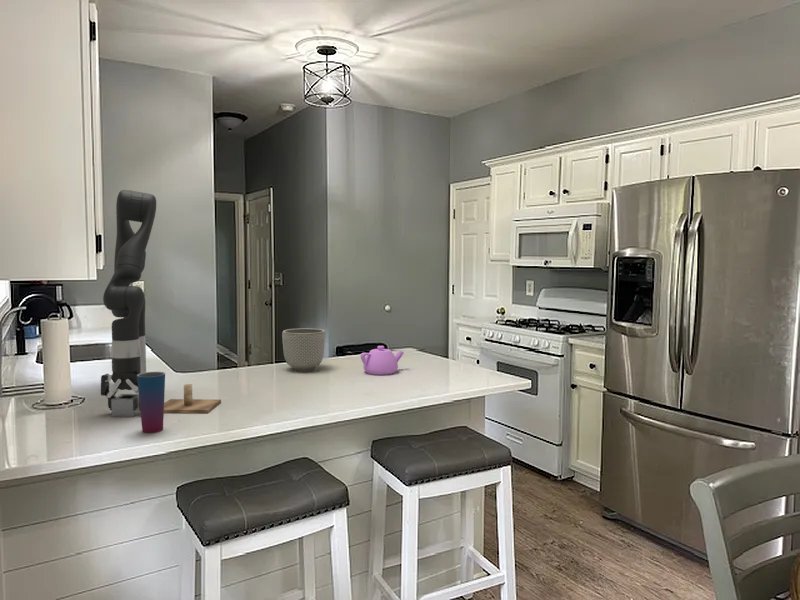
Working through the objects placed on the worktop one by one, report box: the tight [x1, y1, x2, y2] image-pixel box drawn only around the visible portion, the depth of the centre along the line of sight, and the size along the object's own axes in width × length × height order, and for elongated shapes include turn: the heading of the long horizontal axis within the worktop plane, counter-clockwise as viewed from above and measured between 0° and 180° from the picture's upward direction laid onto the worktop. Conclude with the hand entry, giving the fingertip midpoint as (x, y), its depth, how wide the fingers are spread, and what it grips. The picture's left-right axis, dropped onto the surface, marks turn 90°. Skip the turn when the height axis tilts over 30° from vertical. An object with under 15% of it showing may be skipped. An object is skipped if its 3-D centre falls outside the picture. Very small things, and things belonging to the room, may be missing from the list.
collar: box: [111, 393, 141, 418], centre depth 163 cm, size 6×6×5 cm
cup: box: [137, 371, 166, 434], centre depth 147 cm, size 7×7×15 cm
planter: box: [281, 327, 326, 373], centre depth 227 cm, size 17×17×16 cm
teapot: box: [360, 345, 404, 376], centre depth 224 cm, size 14×20×11 cm
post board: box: [164, 383, 222, 414], centre depth 169 cm, size 16×12×7 cm
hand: (127, 409), depth 163 cm, fingers open, 8 cm apart
